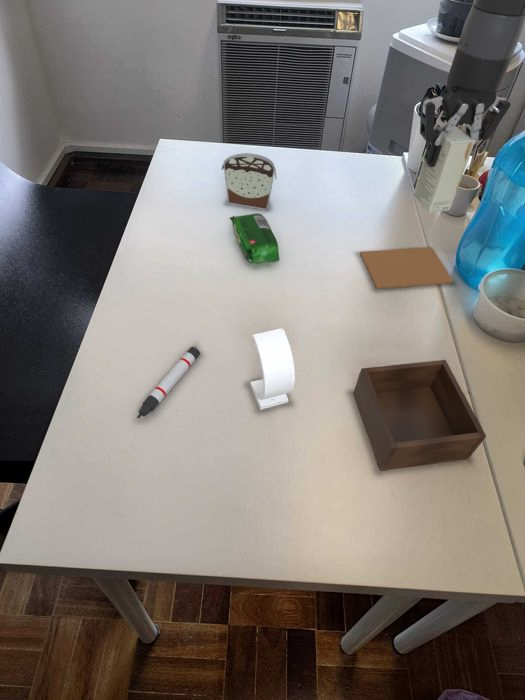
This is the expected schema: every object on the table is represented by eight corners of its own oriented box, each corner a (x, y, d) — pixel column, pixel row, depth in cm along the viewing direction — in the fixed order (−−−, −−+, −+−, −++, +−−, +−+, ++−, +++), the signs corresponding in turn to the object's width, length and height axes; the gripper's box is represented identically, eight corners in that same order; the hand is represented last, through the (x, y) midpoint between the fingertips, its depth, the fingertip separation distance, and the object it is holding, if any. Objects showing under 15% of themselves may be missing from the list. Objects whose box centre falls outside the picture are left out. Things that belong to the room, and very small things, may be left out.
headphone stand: (277, 378, 77) (283, 327, 68) (290, 407, 73) (298, 358, 64) (250, 384, 76) (252, 334, 66) (262, 415, 72) (267, 366, 63)
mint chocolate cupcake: (279, 197, 112) (282, 157, 104) (273, 211, 108) (276, 170, 100) (229, 188, 113) (228, 148, 106) (222, 202, 109) (221, 161, 102)
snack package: (259, 224, 105) (260, 203, 101) (281, 267, 95) (283, 246, 91) (228, 228, 103) (228, 207, 99) (248, 273, 93) (248, 252, 89)
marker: (190, 352, 79) (189, 344, 78) (200, 357, 79) (199, 349, 77) (133, 419, 70) (130, 412, 69) (143, 425, 70) (141, 418, 68)
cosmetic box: (450, 211, 82) (477, 142, 73) (427, 214, 81) (452, 144, 72) (432, 191, 86) (456, 124, 77) (411, 194, 85) (432, 125, 76)
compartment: (431, 384, 77) (445, 359, 72) (468, 459, 69) (486, 436, 64) (352, 393, 75) (361, 368, 70) (379, 471, 67) (391, 448, 62)
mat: (430, 249, 101) (431, 247, 101) (451, 283, 94) (452, 281, 94) (359, 254, 99) (360, 251, 99) (376, 289, 92) (376, 286, 92)
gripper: (449, 57, 62) (412, 177, 75) (547, 56, 64) (494, 174, 77) (427, 38, 67) (395, 154, 80) (518, 38, 69) (473, 151, 82)
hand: (444, 163), depth 78 cm, fingers closed on cosmetic box, 4 cm apart
